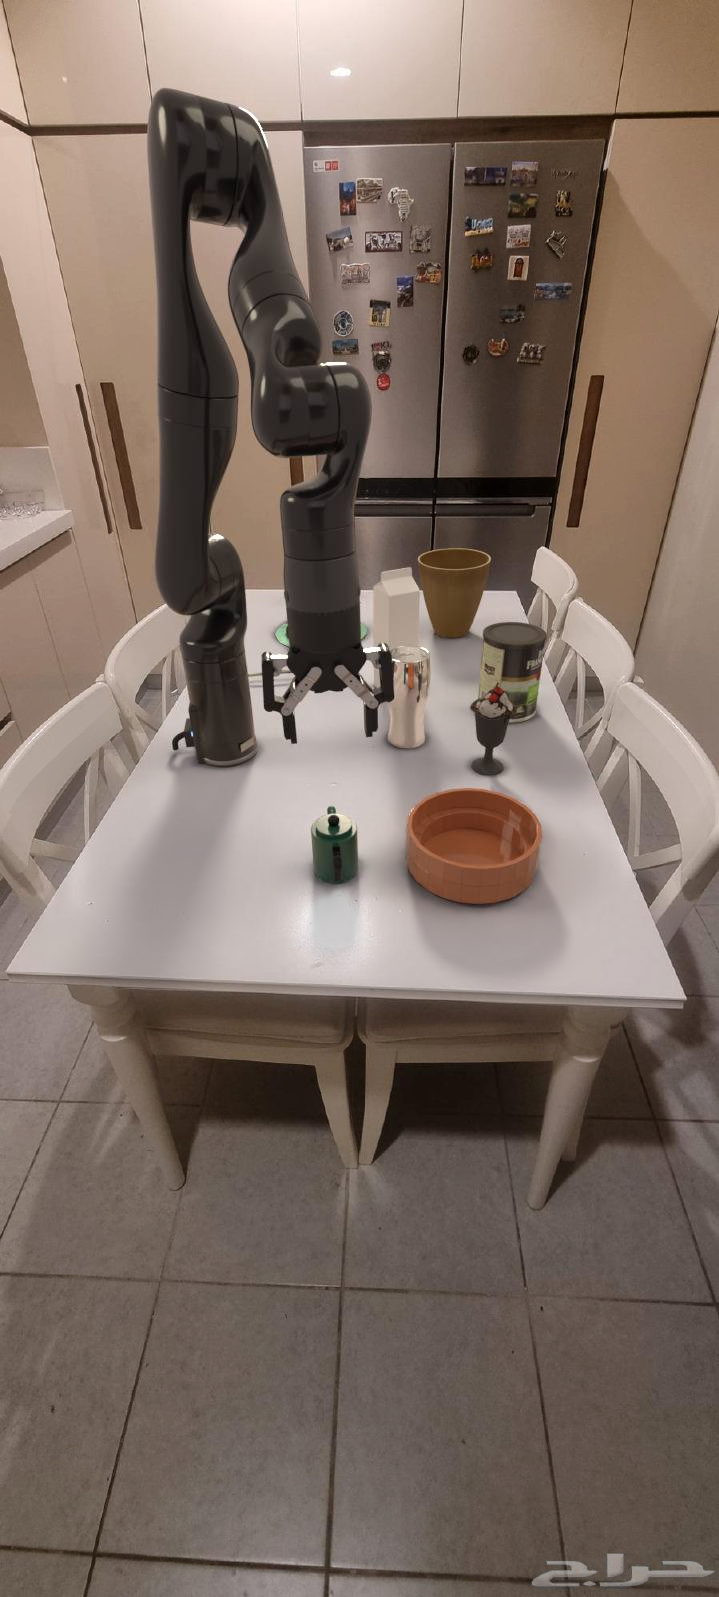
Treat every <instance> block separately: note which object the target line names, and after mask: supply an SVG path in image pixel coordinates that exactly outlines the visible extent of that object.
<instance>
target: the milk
mask: <svg viewBox="0 0 719 1597" xmlns="http://www.w3.org/2000/svg"><path fill="white" fill-rule="evenodd" d="M372 589H373V590H372V592H373V593H372V594H373V595H372V600H373V601H372V604H373V608H372V610H373V612H372V614H373V615H372V616H373V618H372V619H373V648H376V647H378V645H379V644H380V643H386V644H387V645H388V647H389V650H390V649H392V648H394V647H397V646H404V645H413V646H419V633H420V631H419V630H420V603H421V602H420V601H421V600H420V599H421V590H420V587H419V586H418V584H417V583H416V581H415V579H414V577H413V568H412V567H410V566H409V567H408V566H407V567H403V568H397V569H391V570H385V571H382V572H381V573H380V581H379V582H378V583H376V584H374V585H373V588H372ZM373 686H374V687H375V689H377V688H379V687H380V676H379V669H377V668H374V667H373Z"/></svg>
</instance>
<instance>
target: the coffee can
mask: <svg viewBox="0 0 719 1597" xmlns="http://www.w3.org/2000/svg"><path fill="white" fill-rule="evenodd" d="M482 637H483V638H482V648H481V661H480V672H479V685H478V696H477V697H478V698H477V699H480V698H484V697H485V695H486V693H487V692H488V691H490V690H492V689H494V687H495V686H496V684H497V682H499V685H498V687H500V688H502V689H503V690H504V691H505V692H507V693H508V694H509V696H508V700H509V701H510V702H512V703H513V704H514V705H515V706H516V709H517V712H516V714H515V715H512V716H511V717H510V720H509V723H508V724H514V723H516V724H517V723H522V722H526V721H528V720H531V719H532V718H533V717H535V715H536V713H537V704H538V703H537V702H538V695H539V688H540V682H541V675H542V668H543V660H544V655H545V647H546V646H545V645H546V641H547V638H548V634H547V632H546V631H545V629H543V628H541V627H540V626H537V625H534V624H530V623H526V622H519V621H503V622H502V621H501V622H497V623H493V624H490V625H488V626H486V627H484V628H483V630H482ZM495 688H496V687H495Z"/></svg>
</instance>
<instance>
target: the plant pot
mask: <svg viewBox="0 0 719 1597" xmlns="http://www.w3.org/2000/svg"><path fill="white" fill-rule="evenodd" d="M491 561H492V557H491V556H490V555H489V554H488V553H486V552H484V551H481V550H477V549H471V548H461V547H460V548H459V547H458V548H457V547H456V548H455V547H454V548H452V547H451V548H440V549H433V550H430V551H426V552H424V553H421V554H420V555H419V556H418V557H417V564H418V572H419V578H420V584H421V591H422V595H423V599H424V603H425V607H426V611H427V615H428V617H429V621H430V624H431V626H432V629H433V631H434V634H435V635H436V636H438V637H441V638H445V639H455V638H462V637H465V636H466V635H468V634H469V631H470V629H471V628H472V625H473V623H474V620H475V618H476V616H477V612H478V611H479V607H480V604H481V602H482V599H483V595H484V592H485V587H486V585H487V584H486V583H487V580H488V576H489V572H490V567H491V566H490V565H491Z"/></svg>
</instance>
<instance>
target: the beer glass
mask: <svg viewBox="0 0 719 1597" xmlns="http://www.w3.org/2000/svg"><path fill="white" fill-rule="evenodd" d="M390 652H391V655H392V668H393V682H394V700H393V701H391V702H387V705H388V710H389V718H390V723H389V728H388V729H389V730H388V733H387V741H388V743H389V744H390V745H392V746H394V747H396V748H398V749H414V748H419V747H420V746H422V745H423V744H424V743H425V741H426V735H425V729H424V717H425V711H426V707H427V702H428V698H429V693H430V689H431V652H430V650H428V649H427V648H425V647H423V646H420V645H418V646H413V645H404V646H397V647H394V648H392V649H390Z"/></svg>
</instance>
